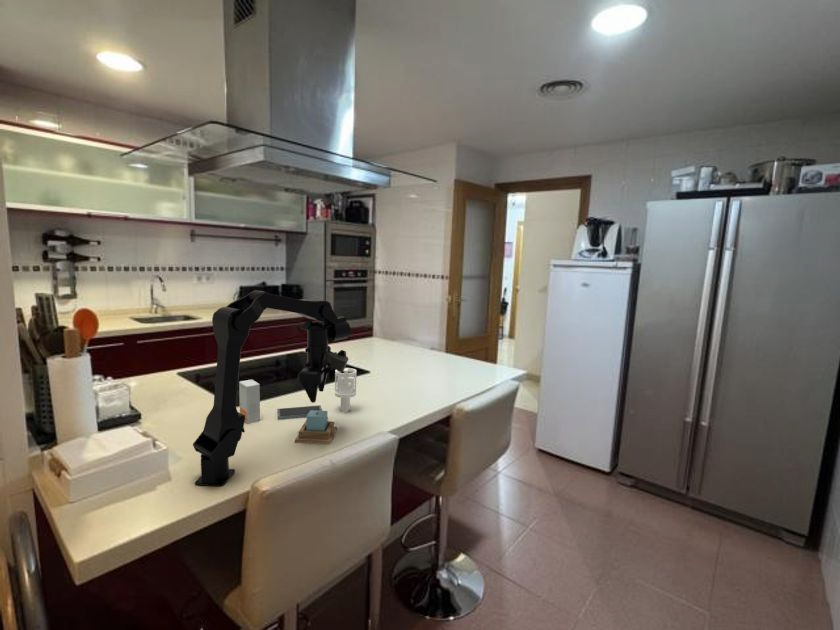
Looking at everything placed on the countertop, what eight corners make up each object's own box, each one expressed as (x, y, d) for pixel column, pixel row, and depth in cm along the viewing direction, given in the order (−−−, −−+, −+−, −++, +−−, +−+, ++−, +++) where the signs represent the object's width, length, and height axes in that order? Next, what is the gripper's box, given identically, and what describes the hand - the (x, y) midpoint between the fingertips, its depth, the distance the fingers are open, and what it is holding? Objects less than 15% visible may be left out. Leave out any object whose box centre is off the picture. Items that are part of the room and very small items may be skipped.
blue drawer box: (323, 436, 117) (324, 416, 116) (306, 436, 117) (306, 415, 116) (327, 430, 122) (327, 410, 121) (310, 429, 122) (310, 409, 121)
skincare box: (239, 417, 130) (238, 381, 128) (252, 414, 132) (252, 378, 131) (247, 424, 125) (246, 386, 123) (260, 420, 128) (260, 383, 126)
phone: (322, 415, 134) (322, 412, 134) (277, 419, 129) (277, 416, 129) (320, 408, 141) (320, 404, 140) (277, 411, 136) (277, 408, 136)
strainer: (334, 414, 136) (335, 370, 134) (334, 406, 143) (335, 364, 140) (356, 413, 137) (357, 370, 135) (355, 405, 144) (356, 364, 142)
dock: (330, 444, 115) (330, 434, 114) (294, 442, 115) (294, 433, 114) (337, 429, 125) (337, 420, 124) (304, 427, 125) (304, 418, 124)
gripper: (339, 352, 106) (339, 410, 109) (351, 338, 125) (350, 387, 127) (297, 351, 106) (297, 408, 109) (315, 336, 125) (315, 385, 127)
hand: (317, 396), depth 118 cm, fingers open, 9 cm apart
